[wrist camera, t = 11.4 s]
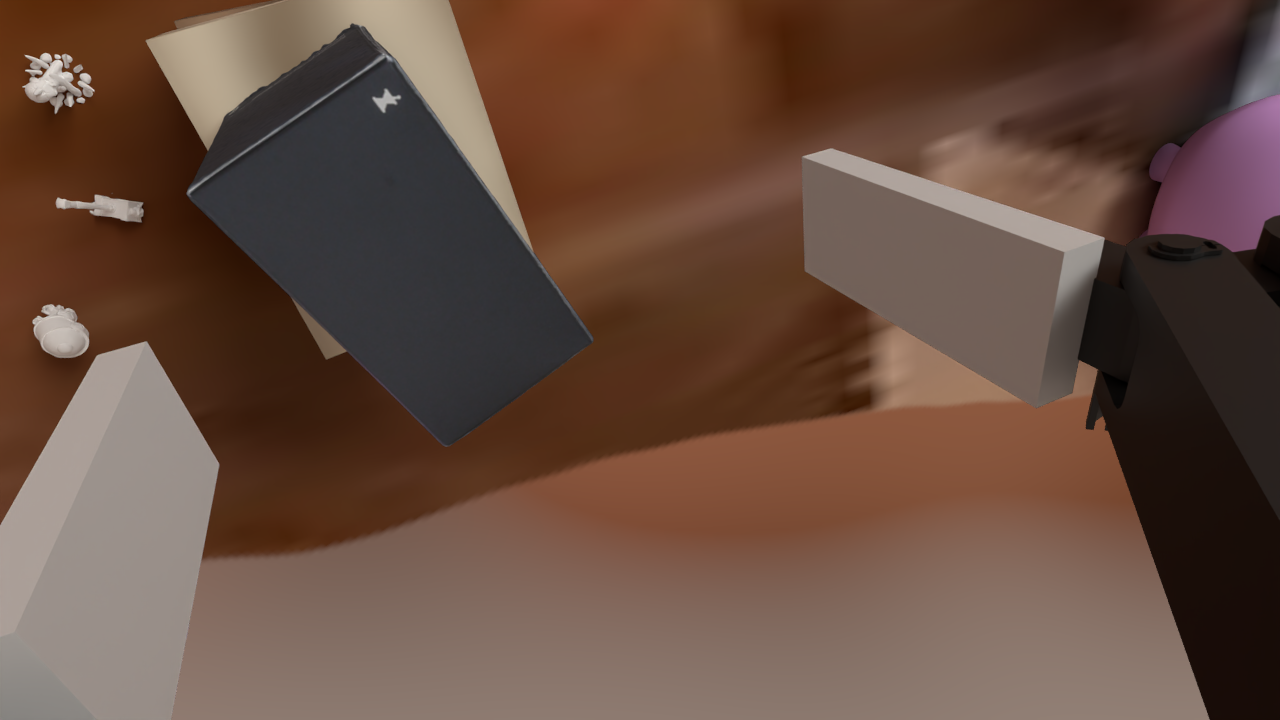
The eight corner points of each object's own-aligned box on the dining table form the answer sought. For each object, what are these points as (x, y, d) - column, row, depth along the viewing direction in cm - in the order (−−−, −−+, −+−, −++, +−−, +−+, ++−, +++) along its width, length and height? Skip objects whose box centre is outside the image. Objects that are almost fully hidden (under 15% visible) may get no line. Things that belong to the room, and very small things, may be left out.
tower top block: (419, -38, 29) (435, -40, 26) (519, 248, 36) (541, 275, 33) (164, 33, 27) (145, 40, 23) (323, 322, 34) (326, 359, 31)
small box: (207, 121, 25) (162, 194, 17) (359, 16, 26) (391, 35, 17) (402, 329, 31) (442, 460, 23) (522, 242, 32) (605, 339, 23)
